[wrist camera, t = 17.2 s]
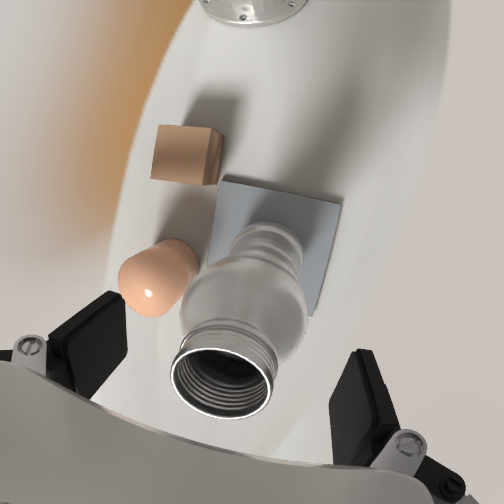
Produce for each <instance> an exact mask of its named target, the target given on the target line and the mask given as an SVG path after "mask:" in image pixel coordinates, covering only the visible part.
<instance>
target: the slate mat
mask: <svg viewBox="0 0 504 504" xmlns="http://www.w3.org/2000/svg"><path fill="white" fill-rule="evenodd" d="M340 208H341V205H340V204H336V203H332V202H328V201H323V200H319V199H314V198H310V197H305V196H300V195H296V194H291V193H286V192H281V191H276V190H271V189H266V188H261V187H255V186H250V185H244V184H239V183H233V182H227V181H219V187H218V193H217V199H216V206H215V212H214V218H213V225H212V232H211V238H210V245H209V252H208V259H207V267H208V266H209V265H211V264H213V263H215V262H217V261H219V260H221V259H223V258H225V257H227V256H228V255H229V251H230V248H231V245H232V242H233V241H234V239H235V237H236V236H237V235H238V233H239V232H240V231H241V230H243V229H244V228H245V227H247V226H249V225H251V224H254V223H257V222H264V221H269V222H276V223H279V224H282V225H284V226H286V227H287V228H289V229H290V230H291V231H293V232H294V234H295V235H296V236H297V237H298V239H299V241H300V243H301V245H302V248H303V256H304V258H303V265H302V267H301V270H300V272H299V275H298V277H297V281H298V283H299V285H300V288H301V290H302V292H303V294H304V298H305V302H306V306H307V310H308V316H311V317H312V316H313V313H314V310H315V306H316V303H317V299H318V296H319V292H320V289H321V285H322V282H323V278H324V274H325V270H326V267H327V263H328V259H329V255H330V251H331V247H332V243H333V239H334V235H335V230H336V226H337V222H338V217H339V213H340ZM207 267H206V268H207Z"/></svg>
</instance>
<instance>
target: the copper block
mask: <svg viewBox="0 0 504 504" xmlns="http://www.w3.org/2000/svg"><path fill="white" fill-rule="evenodd" d="M223 142H224V136H223V135H221V134H220V133H218V132H217V131H215V130H213V129H212V128H205V127H192V126H176V125H159V126H158V132H157V137H156V143H155V150H154V156H153V163H152V170H151V178H150V179H157V180H166V181H174V182H181V183H189V184H196V185H215V184H217V178H218V172H219V166H220V159H221V153H222V147H223Z"/></svg>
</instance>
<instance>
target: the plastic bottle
mask: <svg viewBox="0 0 504 504" xmlns="http://www.w3.org/2000/svg"><path fill="white" fill-rule="evenodd" d="M303 258H304V256H303V248H302V245H301V243H300V241H299V239H298V237H297V236H296V235H295V234H294V232H293V231H291V230H290V229H289V228H287V227H286V226H284V225H282V224H279V223H276V222H269V221H264V222H257V223H254V224H251V225H249V226H247V227H245V228H244V229H243V230H241V231H240V232H239V233H238V235H237V236H236V237H235V239H234V241H233V242H232V245H231V248H230V251H229V255H228V256H227V257H225V258H223V259H221V260H219V261H217V262H215V263H213V264H211V265H209V266H208V267H207V268H205V269H204V270H203V271H201V272H200V273H199V274H198V275H196V276H195V277H194V279H193V280H192V281H191V282H190V283H189V285H188V287H187V289H186V291H185V293H184V295H183V300H182V304H181V309H180V327H181V331H182V334H183V336H184V339H183V341H182V343H181V345H180V350H179V352H178V354H177V355H176V357H175V359H174V361H173V363H172V366H171V371H170V378H171V383H172V386H173V388H174V390H175V392H176V393H177V395H178V396H179V397H180V398H181V399H182V400H183V401H184V402H185V403H186V404H187V405H188V406H190V407H191V408H193V409H194V410H196V411H198V412H200V413H202V414H204V415H207V416H210V417H214V418H219V419H227V420H235V419H243V418H247V417H250V416H253V415H255V414H257V413H258V412H260V411H261V410H263V408H264V407H265V406H266V405H267V404H268V402H269V400H270V398H271V396H272V392H273V385H274V380H275V378H276V375H277V370H278V367H279V366H281V365H282V364H284V363H285V362H286V361H287V360H289V359H290V358H291V356H292V355H293V354H294V353H295V351H296V350H297V349H298V347H299V345H300V343H301V342H302V339H303V337H304V335H305V333H306V329H307V324H308V310H307V306H306V302H305V298H304V294H303V292H302V290H301V288H300V285H299V283H298V281H297V277H298V275H299V272H300V270H301V267H302V265H303Z"/></svg>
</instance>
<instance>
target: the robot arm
mask: <svg viewBox="0 0 504 504" xmlns="http://www.w3.org/2000/svg"><path fill="white" fill-rule="evenodd" d="M199 1H200V3H201V6H202V7H203V9H204V10H205V12H206V13H207V14H208V15H209V16H211V17H212V18H214V19H215V20H217V21H220V22H222V23H225V24H228V25H233V26H241V27H257V26H264V25H269V24H273V23H277V22H280V21H282V20H284V19H287V18H289V17H290V16H292V15H294V14H295V13H297V12H298V11H299V10H300V9H301V8H302V7H303V5H304V4H305V3H306V1H307V0H199ZM48 337H49V340H47V341H45V340H44V339H43V338H42V337H40V336H37V335H26V336H23V337H21V338H19V339H18V340H17V341H16V342H15V344H14V348H13V350H0V504H479V503H478V502H477V501H476V500H475V499H474V498H473V497H472V496H471V495H470V494H469V495H468V496H466V495H465V490H466V485H465V482H464V480H463V479H462V477H461V476H459V475H458V474H457V473H455V472H453V471H451V470H450V469H448V468H446V467H445V466H443V465H441V464H440V463H438V462H436V461H435V460H433V459H431V458H430V457H428V456H427V455H425V454H426V451H427V443H426V441H425V439H424V438H423V437H422V435H420V434H419V433H417V432H416V431H413V430H409V429H402V430H401V428H400V425H399V422H398V419H397V416H396V413H395V410H394V407H393V404H392V401H391V398H390V395H389V392H388V389H387V387H386V385H385V384H384V381H383V379H382V376H381V373H380V370H379V368H378V365H377V362H376V360H375V357H374V354H373V352H372V351H371V350H366V349H357V350H356V352H352V353H351V355H350V357H349V359H348V362H347V364H346V366H345V369H344V371H343V373H342V375H341V377H340V379H339V381H338V383H337V386H336V388H335V390H334V392H333V394H332V396H331V398H330V401H329V415H330V425H331V437H332V449H333V465H331V464H317V463H307V462H298V461H289V460H281V459H274V458H268V457H262V456H256V455H251V454H246V453H241V452H236V451H232V450H227V449H223V448H219V447H215V446H211V445H207V444H203V443H200V442H196V441H193V440H189V439H186V438H183V437H180V436H176V435H173V434H170V433H167V432H164V431H162V430H159V429H156V428H153V427H150V426H148V425H145V424H143V423H140V422H137V421H135V420H132V419H130V418H128V417H125V416H123V415H121V414H118V413H116V412H114V411H112V410H109V409H107V408H105V407H103V406H101V405H99V404H97V403H95V402H92V401H90V399H91V397H92V396H93V395H94V394H95V393H96V391H97V390H98V389H99V388H100V387H101V385H102V384H103V383H104V382H105V381H106V379H107V378H108V377H109V376H110V375H111V373H112V372H113V371H114V370H115V369H116V367H117V366H118V365H119V364H120V363H121V362H122V360H123V359H124V358H125V357H126V355H127V351H128V348H127V333H126V312H125V300H124V299H123V298H122V295H121V294H119V293H116V292H113V291H107V292H105V293H104V294H103V295H101V296H100V297H98V298H97V299H96V300H94V301H93V302H92V303H90V304H89V305H88V306H86V307H85V308H83V309H82V310H81V311H79V312H78V313H76V314H75V315H74V316H72V317H71V318H70V319H69V320H67V321H66V322H65V323H63V324H62V325H60V326H59V327H58V328H57V329H55V330H54V331H53V332H51V333H50V334H49V335H48Z"/></svg>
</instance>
